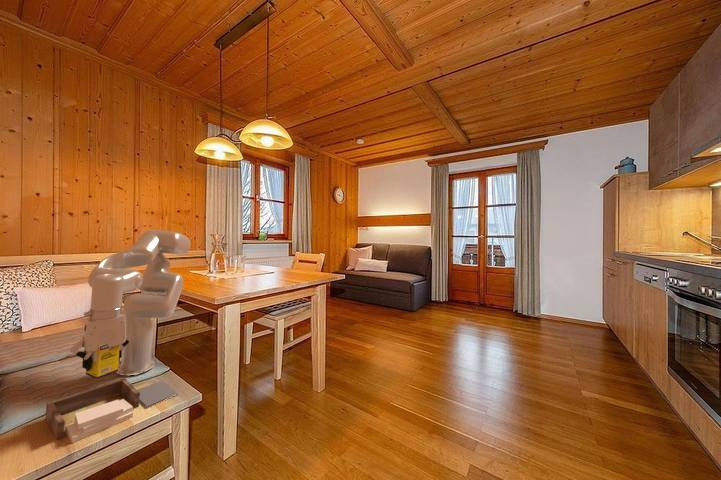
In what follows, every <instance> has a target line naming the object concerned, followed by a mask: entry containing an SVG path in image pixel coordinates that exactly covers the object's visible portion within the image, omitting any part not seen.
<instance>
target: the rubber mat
mask: <svg viewBox="0 0 721 480" xmlns="http://www.w3.org/2000/svg"><path fill="white" fill-rule="evenodd" d="M136 389H137V388H136ZM137 390H138V391H139V392H140V398H139V403H141V404H142V406H144V408H145V409H148V408H150V407H152V405H153V406H155V405H157V404H156V403H158V404H160V403H162V402H164V401H163V400H165V399H167V398H169V397H171V396H173V395H175V394H178V395H179V393H178V392H177V390H175V389H174V388H173V387H172V386H170V384H168V383H167V382H166V381H164V379H163V380H159V381H157V382H154V383H152V384H149V385H145V386H143V387H140V388H138V389H137ZM169 399H170V398H169ZM167 400H168V399H167ZM161 401H162V402H161ZM165 401H166V400H165ZM159 402H160V403H159ZM154 404H155V405H154ZM147 407H148V408H147Z"/></svg>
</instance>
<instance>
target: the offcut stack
mask: <svg viewBox="0 0 721 480" xmlns="http://www.w3.org/2000/svg"><path fill="white" fill-rule="evenodd" d="M133 410H134V408H133V406H132V405H131V404H130V403H129V402H128V401H127V400H126V399H125V398H121V399H115V400H112V401H109V402H105V403H102V404H100V405H97V406H93V407H91V408H88V409H84V410H82V411H79V412H75V413H74V422H72V423H69V424H67V425H64V433H65V434H66V435H67V437H68V439H69V440H70V442H71V443H72V444H73V443H75V442H78V441H80V440H82V439H85V438H87V437H90V436H92V435H94V434H97V433H99V432H101V431H103V430H106V429H108V428H111V427H112V426H114V425H117V424H120V423H121V422H124V421H127V420H130V419H131V418H133V417H134V412H133ZM110 426H111V427H110Z"/></svg>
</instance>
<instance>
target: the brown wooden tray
mask: <svg viewBox="0 0 721 480" xmlns="http://www.w3.org/2000/svg"><path fill="white" fill-rule="evenodd" d="M119 395H121V396H122V397H123V399H124V400H125V401H127V402H128V403H129V404H130V405H132V406H133V409H137V408H139V405H140V401H139V398H140V392H139V391H138V390H137V388H136V387H135V386H133V385H132V384H131V382H129V381H128V379H126V378H125V377H124V378H120V379H118V380H113V381H111V382H108V383H104V384H102V385H99V386H96V387H93V388H89V389H87V390H84V391H80V392H78V393H74V394H71V395H68V396H65V397H63V398H62V397H61V398H59V399H55V400H52V401H50V402H47V403H46V408H45V409H46V410H45V420H46V422H47V424H48V426H49V428H50V429H51V431H52V433H53V435H54V437H55V438H56V440H57V441H59V440H61V439H63V438H64V435H65V426H66V425H65V424H66V421H65V419H64V417H63V416H64V415H66V414H69V413H72V412H75V411H77V410H80V409H83V408H86V407H89V406H91V405H94V404H97V403H100V402H102V401H105V400H108V399H112V398H114V397H116V396H119Z"/></svg>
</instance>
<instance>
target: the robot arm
mask: <svg viewBox="0 0 721 480" xmlns="http://www.w3.org/2000/svg"><path fill="white" fill-rule="evenodd" d="M190 250H191V240H190V239H189V237H188V236H186V235H184V234H181V233H180V232H177V231H167V230H162V229H161V230H160V229H149V230H146V231H145V232H144V233H143V234H142V235H141V236H140V237H139V238H138V240H137V241H136V242H135V243H134V244H133V245H132V246H131V247H130V248H128V249H125V250H122V251H119V252H116V253H114V254H111V255H107V257H105V258H103V259H102V260H101V261H100V262H98V264H96V266H95V267H94V268H93V269H92V270H91V272H90V273H89V276H88V278H87V283H88V286H89V287H90V288H91V297H90V298H91V300H90V308H89V310H88V311H85V312H84V313H83V317H84V318H85V317H87V318H86V321H85V324H84V328H83V331H82V337H81V339H80V340H79V341H78V342H76V343H75V344H74V345H72V346H71V347H69V350H68V351H69V352H70V353H71V354H73V355H75V356H77V357H78V358H81V359H82V366H81V367H82V369H85V371H86V370H87V371H90V370H91V358H90V355H91V354H92V352H93V351H97V350H98V346H100V345H104V344H108V346H109V347H113V346H117V345H120V349H119V363H120V361H121V363H120V364H118V371H117V372H115V374H116V373H118V374H123V375H127V374H134V373H140V372H144V371H146V370H149V369H151V368H152V367H153V368H154V366H155V361H154V360H153V359H151V358H152V347H153V336H154V330H155V329H154V327H155V326H154V322H153V321H152V319H168V318H170V317H172V315H174V314H173V313H175V310H176V307H177V305H178V302H179V298H180V296H181V294H182V293H181V292H182V290H183V287H184V278H183V276H182V274H179V273H175V272H169V271H170V269H171V262H170V260H168V258H167V257H166V256H165V254H170V255H179V256H180V255H181V256H183V255H186V254H188V253H189V251H190ZM145 265H146V267H145V270H144V272H143V273H142V272H140V271H139V270H135V269H129V268H137V267H141V266H145ZM136 290H139V291H140V292H141V293H134V294H131V295H129V296H128V297H126V298H125V300H124V301H123V298H124V297H123V296H124V294H126V293H130V292H134V291H136ZM122 309H123V311H122ZM81 347H82V348H84V350H79V349H80V348H81ZM153 368H152V369H153ZM152 369H151V370H152ZM141 370H143V371H141ZM149 371H150V370H149ZM118 374H117V375H118Z"/></svg>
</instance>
